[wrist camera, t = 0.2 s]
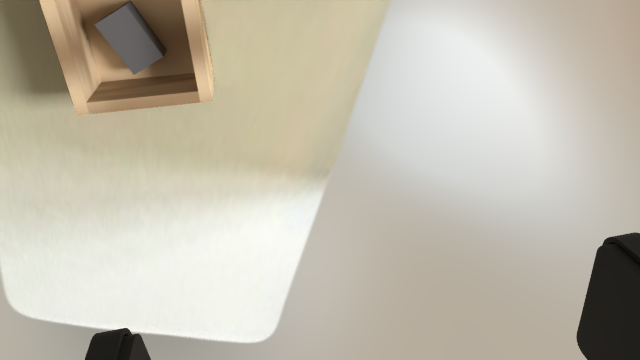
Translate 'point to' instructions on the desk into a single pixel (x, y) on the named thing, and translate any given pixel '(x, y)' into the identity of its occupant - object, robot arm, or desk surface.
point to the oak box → (112, 73)
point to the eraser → (131, 37)
